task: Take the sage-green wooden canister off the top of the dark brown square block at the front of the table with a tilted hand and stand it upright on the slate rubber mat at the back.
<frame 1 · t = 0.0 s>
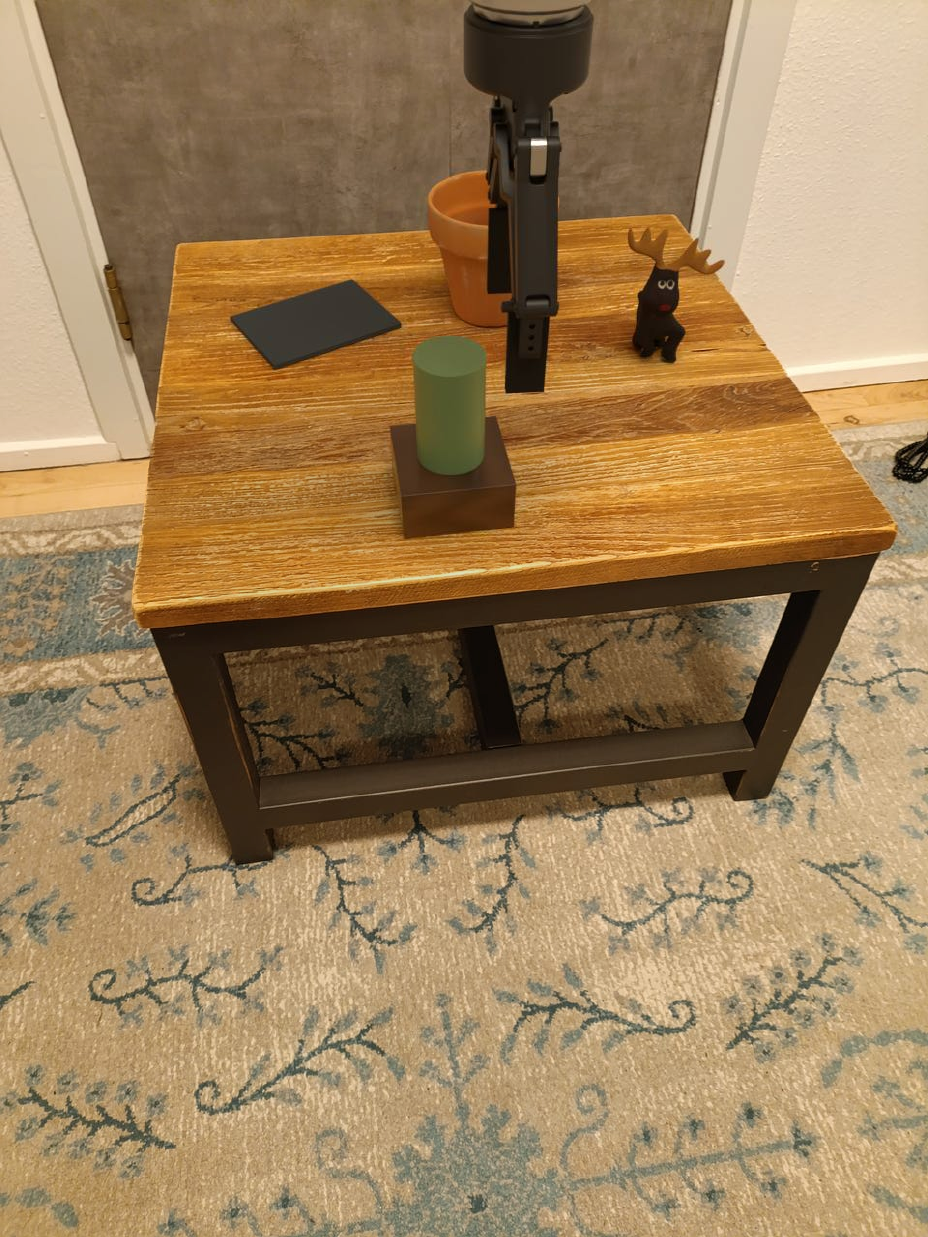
hand: (513, 337, 67), 19 cm above the table, tool pointing down, fingers open, 13 cm apart
flower pot: (490, 309, 106), on the table
dark brown square block: (451, 496, 83), on the table, touching green canister
green canister: (450, 453, 80), point 5 cm above the table, touching dark brown square block
slate mat: (315, 324, 103), on the table
figurine: (655, 354, 99), on the table
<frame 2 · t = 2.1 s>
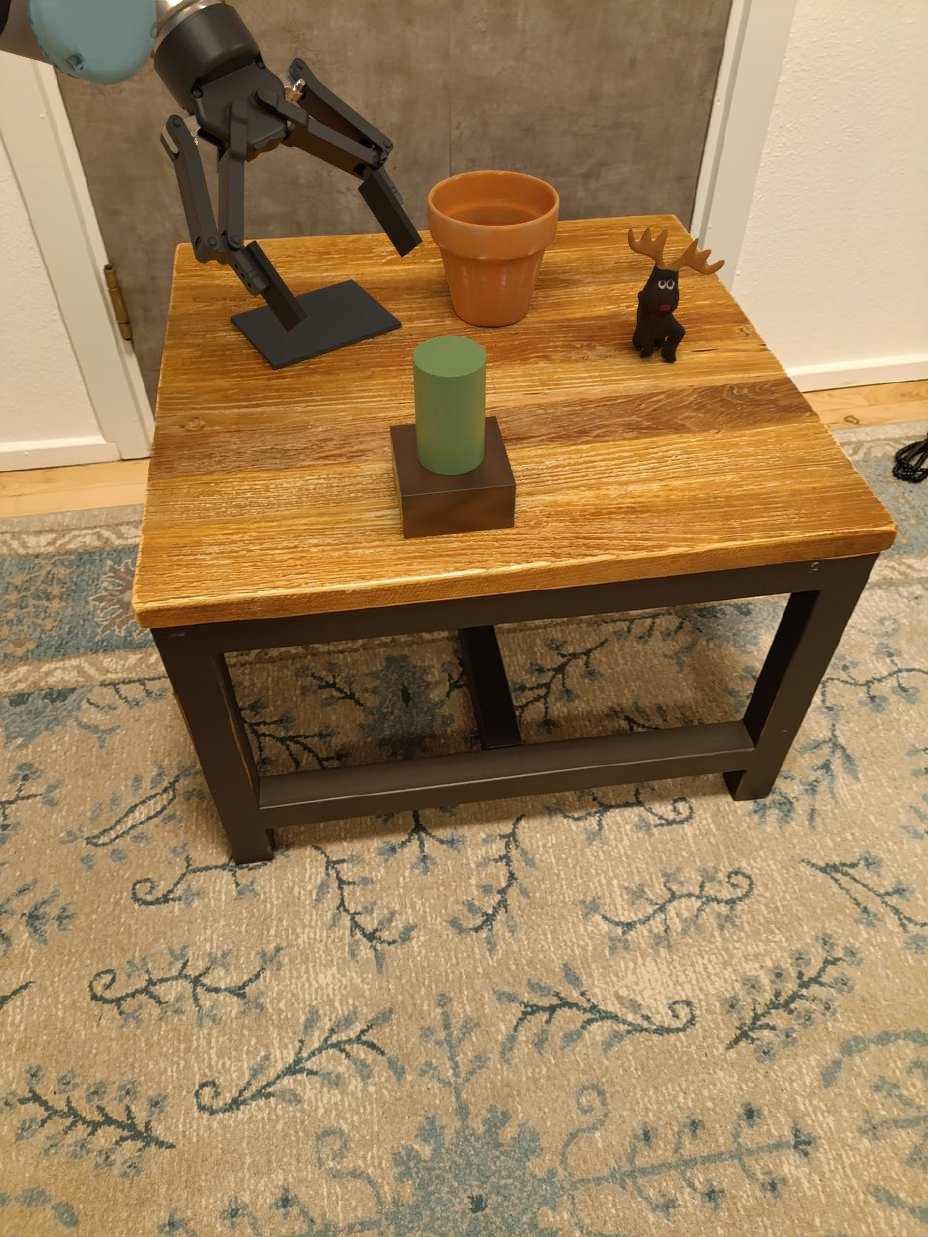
hand: (357, 285, 73), 18 cm above the table, tool tilted 45°, fingers open, 13 cm apart
nothing on the table moved.
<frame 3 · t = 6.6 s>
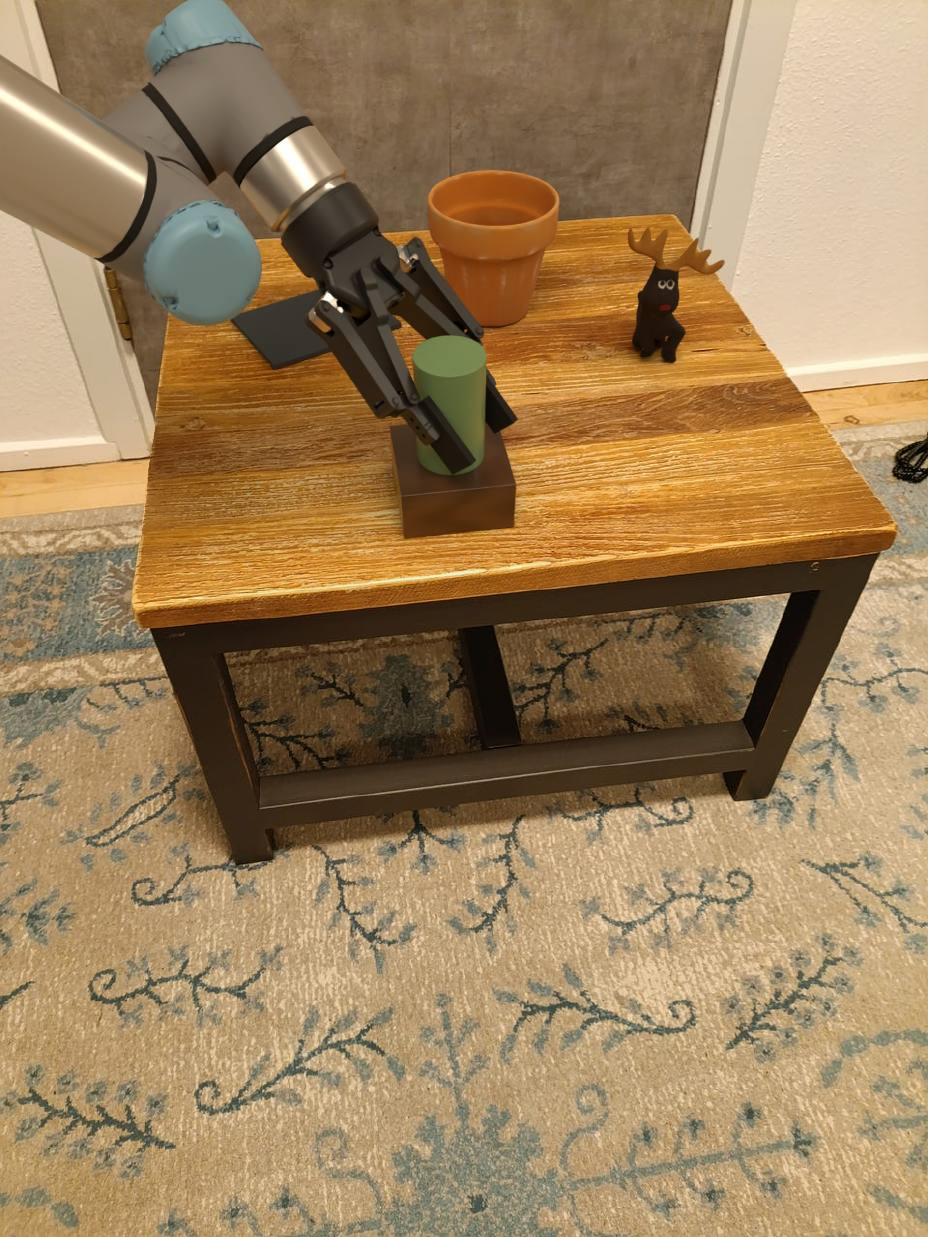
hand: (485, 446, 77), 7 cm above the table, tool tilted 45°, fingers closed on green canister, 6 cm apart
green canister: (450, 453, 80), point 5 cm above the table, touching gripper, dark brown square block
everything else where it was.
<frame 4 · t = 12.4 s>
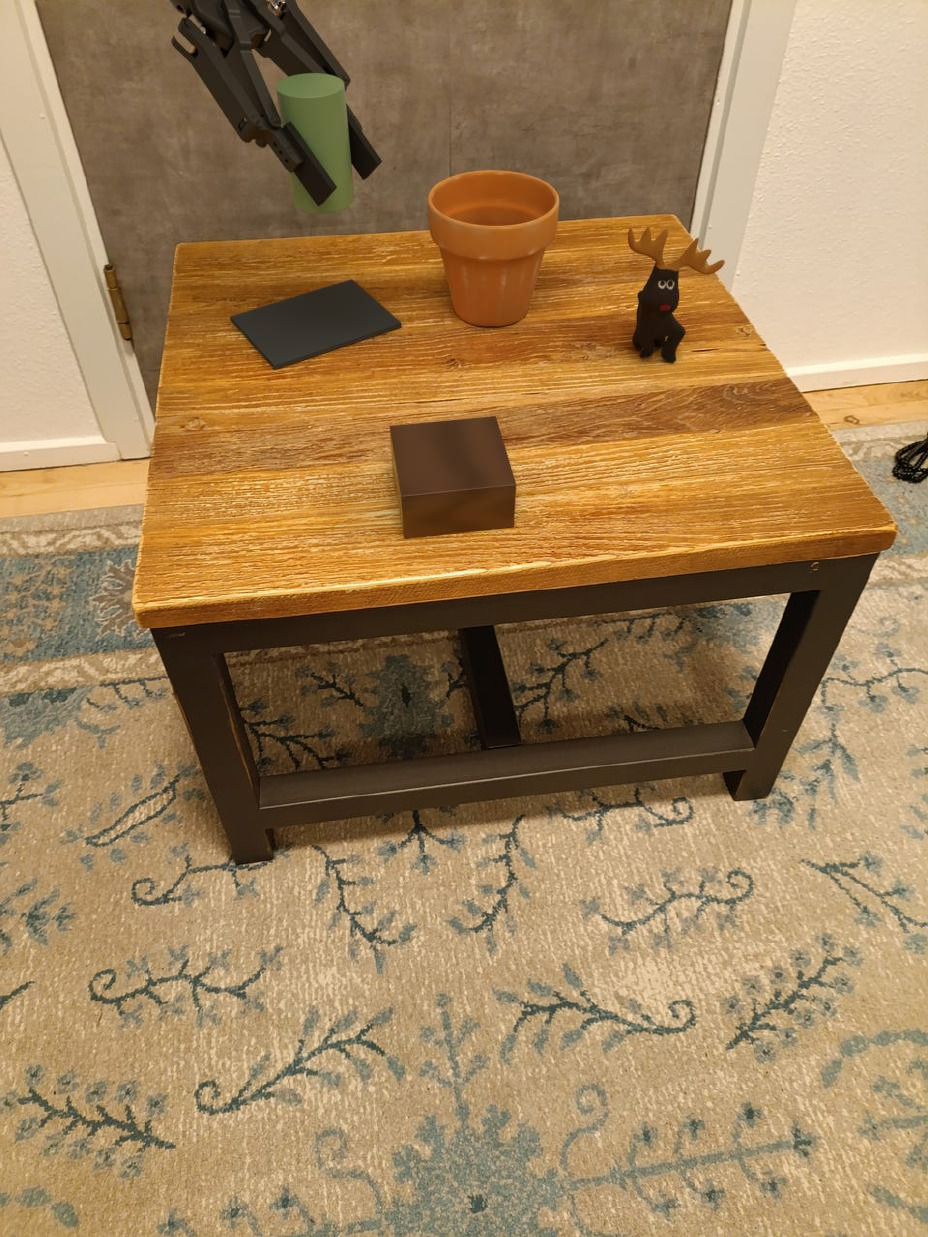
hand: (350, 183, 83), 20 cm above the table, tool tilted 45°, fingers closed on green canister, 6 cm apart
dark brown square block: (451, 496, 83), on the table
green canister: (323, 199, 86), point 17 cm above the table, touching gripper
everything else where it was.
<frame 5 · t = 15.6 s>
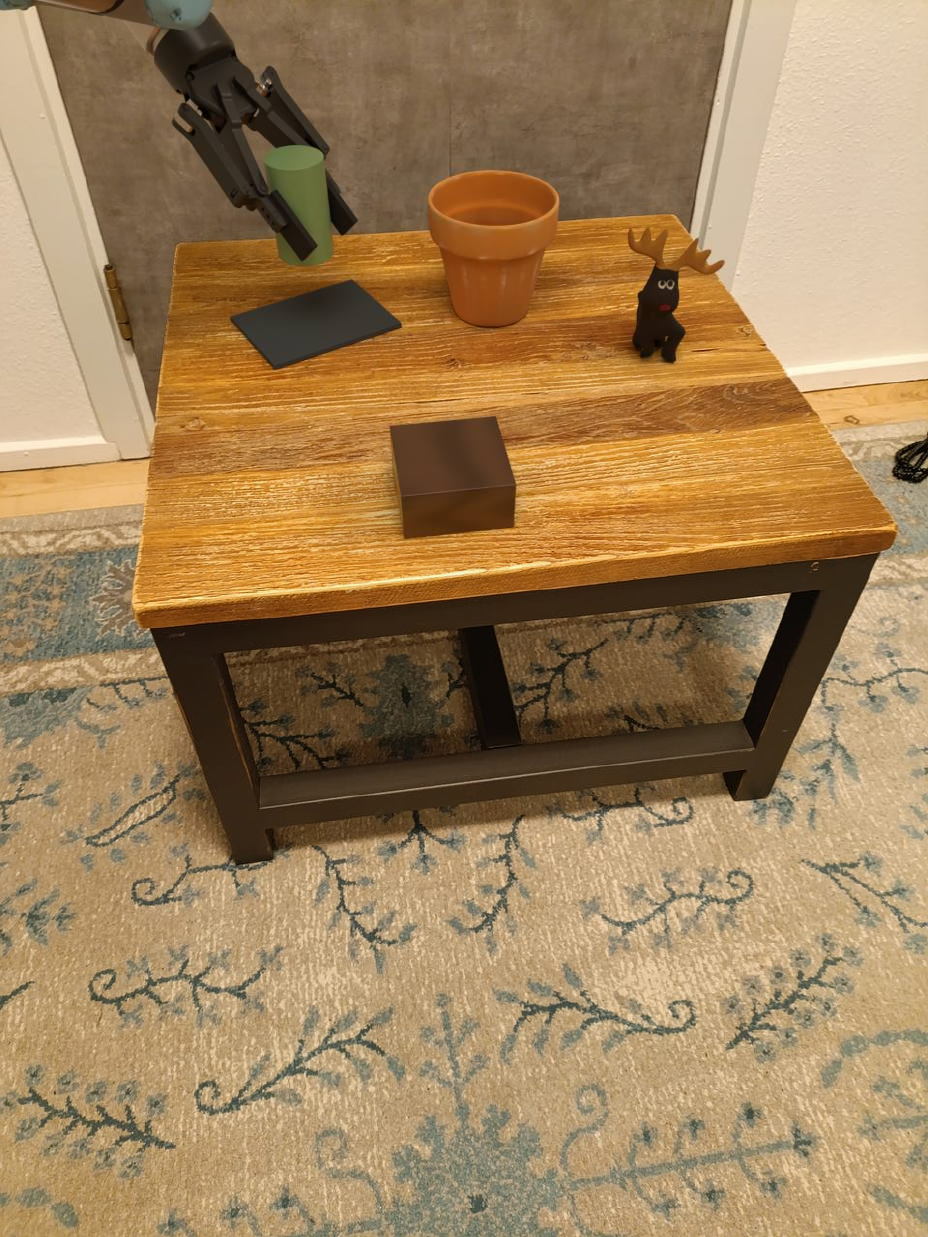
hand: (330, 240, 94), 11 cm above the table, tool tilted 45°, fingers closed on green canister, 6 cm apart
green canister: (306, 253, 97), point 8 cm above the table, touching gripper
everything else where it was.
when the fingers open (3 cm above the table, at t = 18.1 s): green canister stays where it is, resting on slate mat.
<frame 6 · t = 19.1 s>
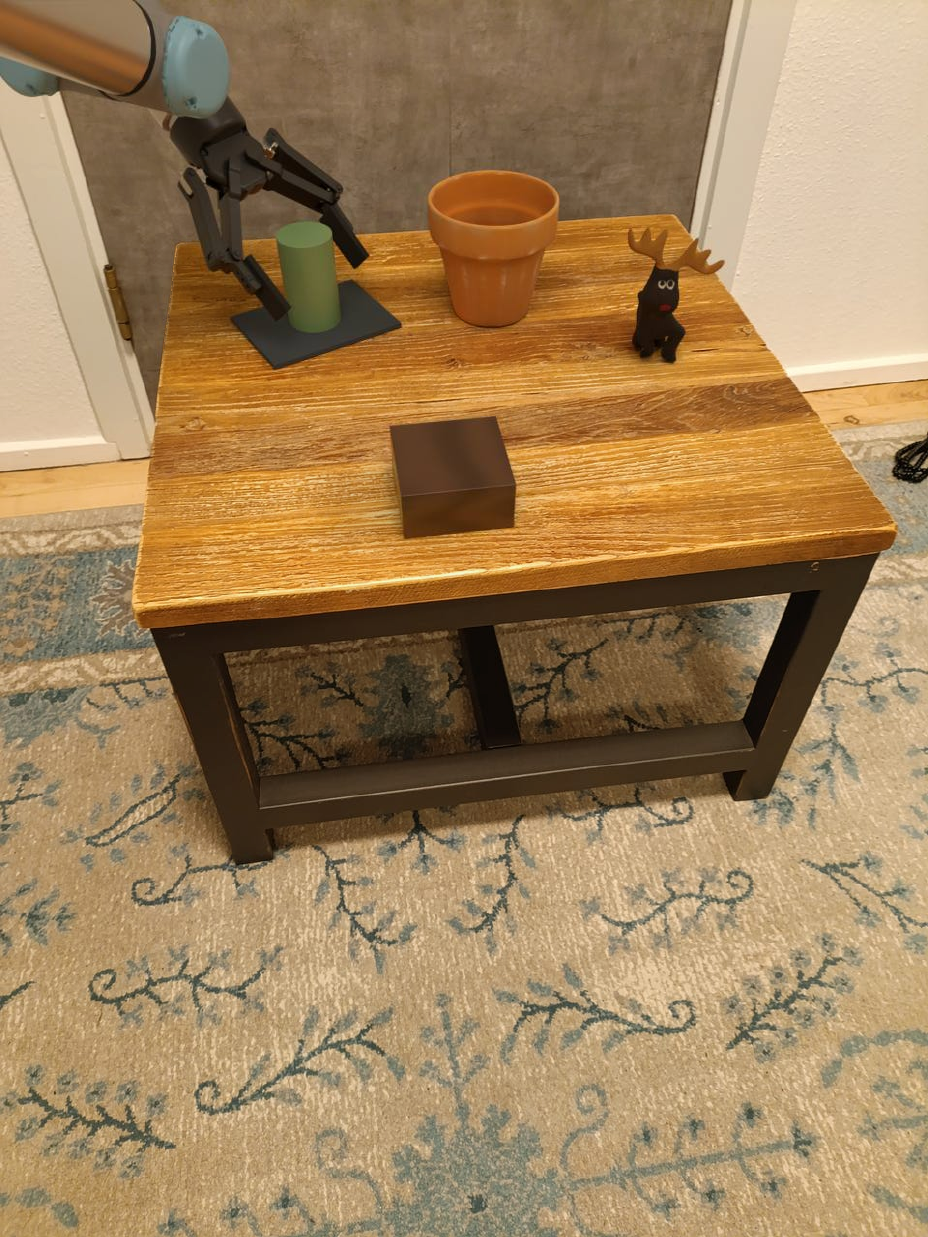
hand: (324, 287, 99), 5 cm above the table, tool tilted 45°, fingers open, 13 cm apart
green canister: (315, 319, 103), point 1 cm above the table, touching slate mat
everything else where it was.
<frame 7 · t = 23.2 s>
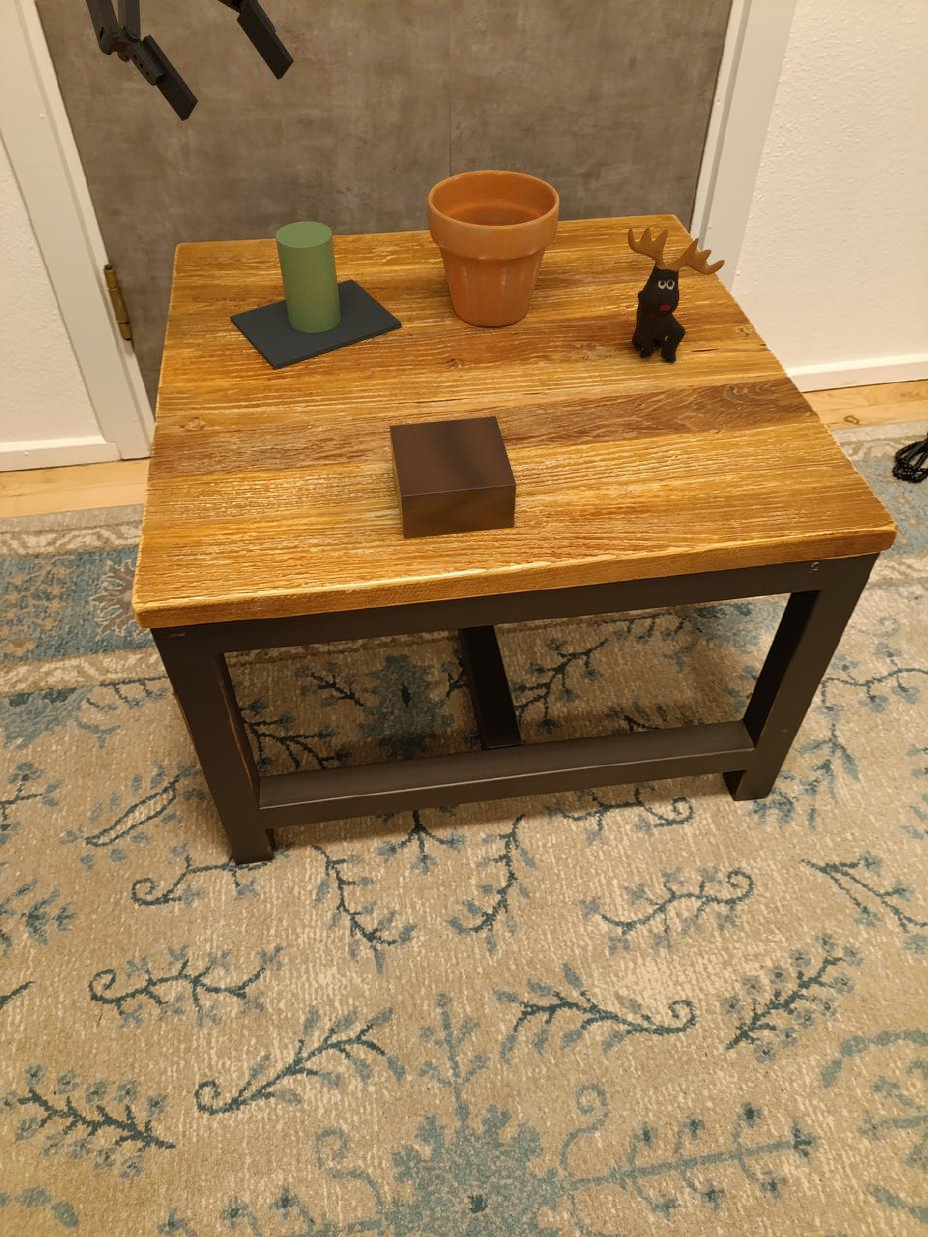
hand: (240, 90, 87), 24 cm above the table, tool tilted 45°, fingers open, 13 cm apart
nothing on the table moved.
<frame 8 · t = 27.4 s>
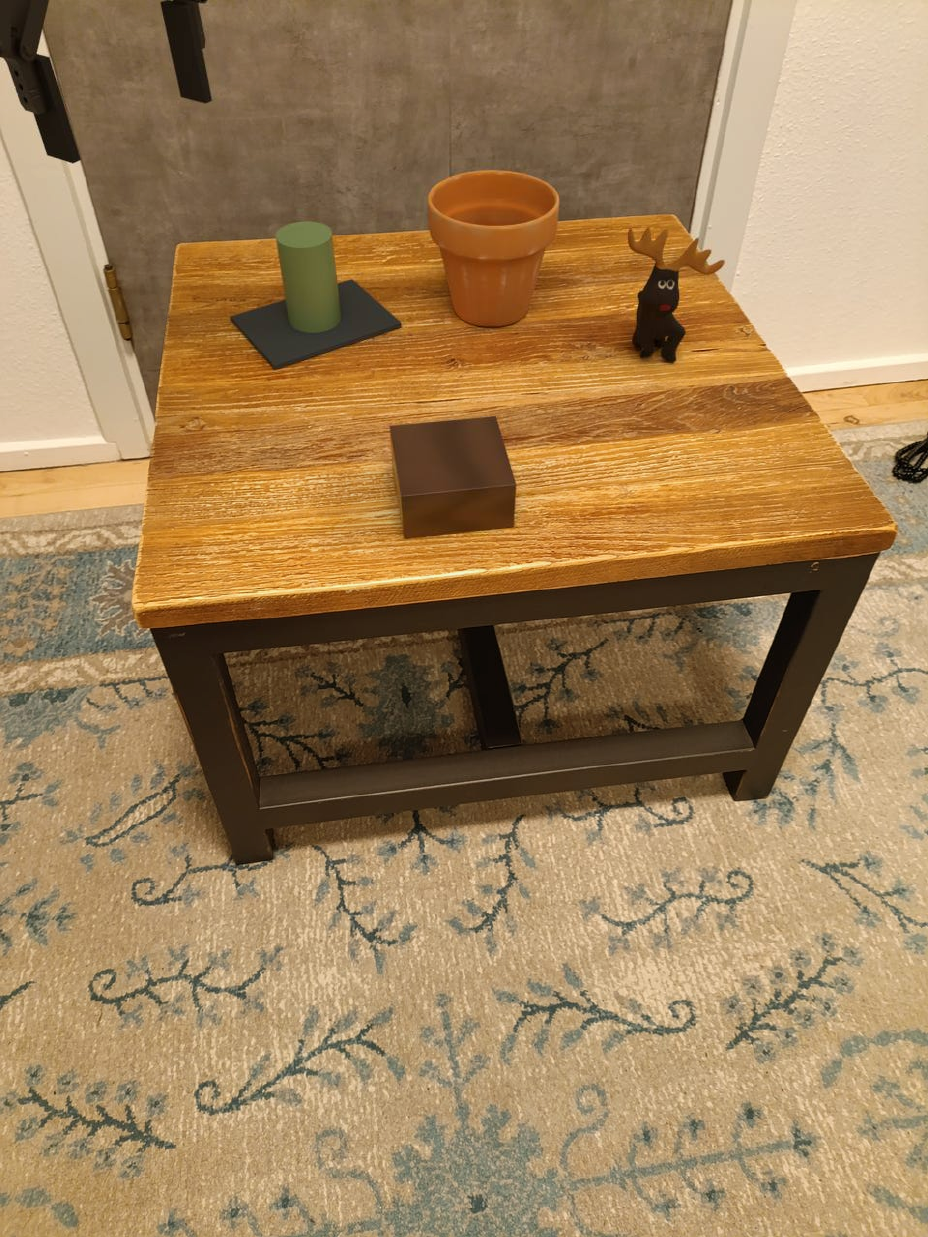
hand: (134, 127, 68), 29 cm above the table, tool pointing down, fingers open, 13 cm apart
nothing on the table moved.
at the end: green canister inside the target area on the slate mat (0.0 cm from its centre), point 0.6 cm above the slate mat's base; green canister tilted 0°; dark brown square block moved 0.0 cm from its start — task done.
